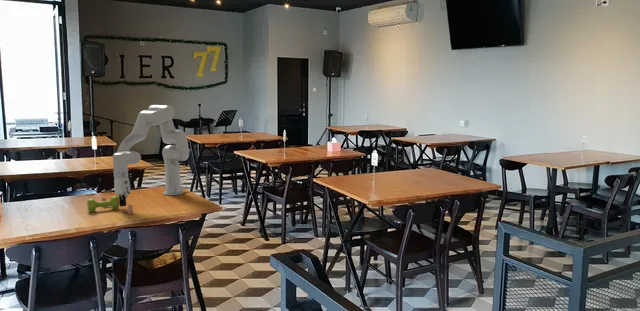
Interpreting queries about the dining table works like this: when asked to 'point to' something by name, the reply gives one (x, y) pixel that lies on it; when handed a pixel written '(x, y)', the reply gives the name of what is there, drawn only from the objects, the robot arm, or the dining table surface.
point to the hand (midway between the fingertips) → (122, 205)
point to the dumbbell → (102, 204)
